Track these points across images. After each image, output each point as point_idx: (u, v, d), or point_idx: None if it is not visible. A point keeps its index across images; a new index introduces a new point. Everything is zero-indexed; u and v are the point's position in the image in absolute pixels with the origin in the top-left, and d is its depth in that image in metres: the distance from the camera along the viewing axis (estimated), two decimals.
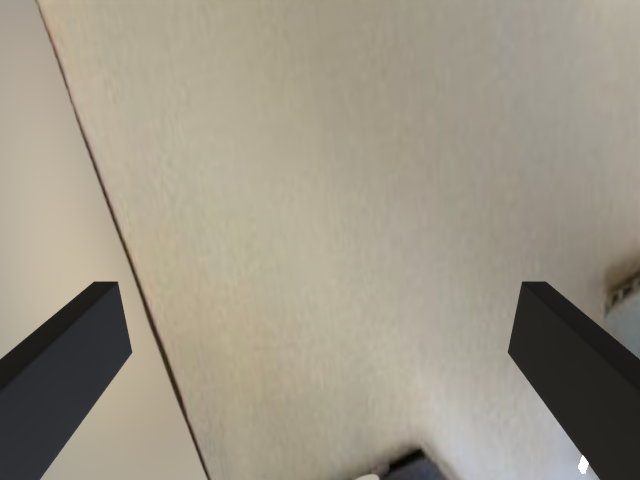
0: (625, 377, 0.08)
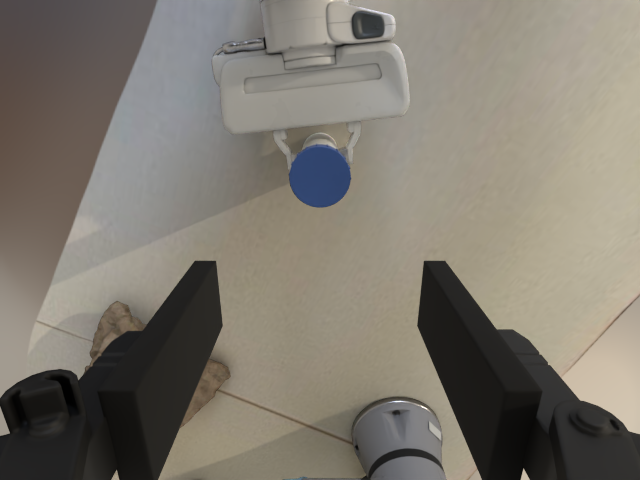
0: (468, 332, 0.10)
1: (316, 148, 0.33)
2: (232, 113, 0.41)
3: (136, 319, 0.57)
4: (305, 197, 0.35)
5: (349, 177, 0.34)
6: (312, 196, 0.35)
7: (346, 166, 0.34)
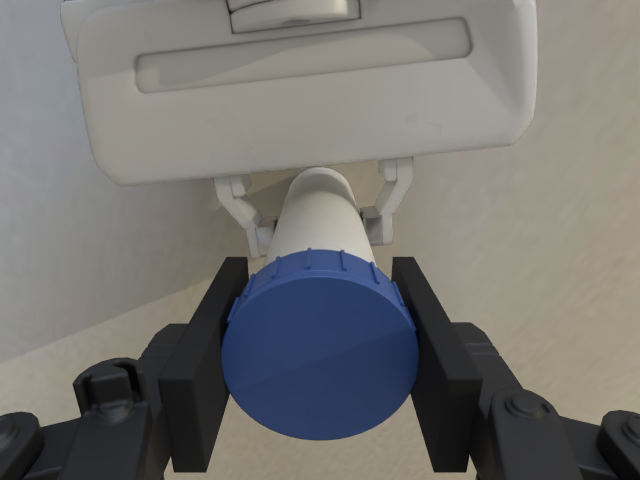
0: (423, 324, 0.10)
1: (307, 281, 0.10)
2: (112, 139, 0.17)
3: None
4: (274, 416, 0.11)
5: (415, 364, 0.11)
6: (296, 413, 0.11)
7: (407, 334, 0.10)
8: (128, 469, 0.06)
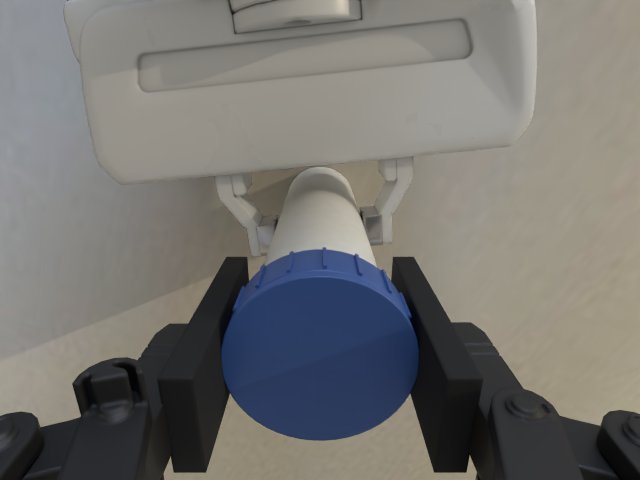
0: (423, 324, 0.10)
1: (239, 401, 0.11)
2: (115, 138, 0.17)
3: None
4: (396, 383, 0.11)
5: (281, 286, 0.10)
6: (386, 366, 0.11)
7: (251, 307, 0.10)
8: (128, 469, 0.06)
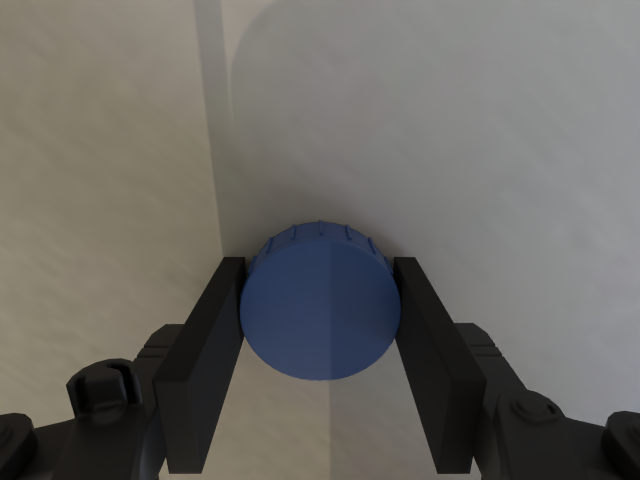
0: (426, 325, 0.10)
1: (349, 248, 0.12)
2: None
3: None
4: (263, 341, 0.13)
5: (388, 343, 0.13)
6: (281, 346, 0.13)
7: (395, 318, 0.13)
8: (122, 470, 0.06)
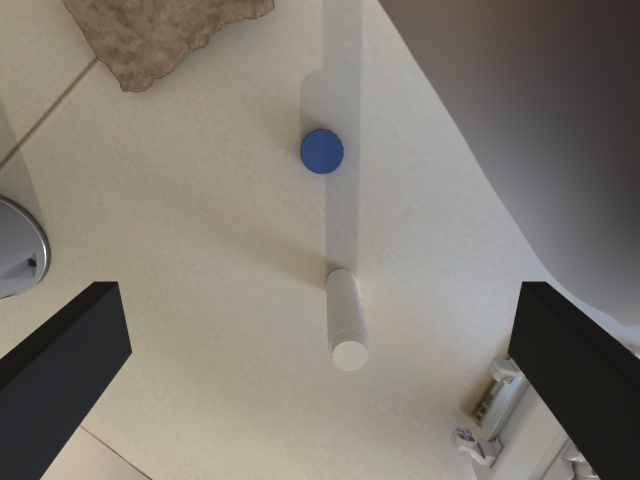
0: (625, 377, 0.08)
1: (329, 133, 0.48)
2: None
3: None
4: (306, 160, 0.50)
5: (340, 161, 0.50)
6: (311, 162, 0.50)
7: (341, 153, 0.49)
8: None
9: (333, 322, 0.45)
